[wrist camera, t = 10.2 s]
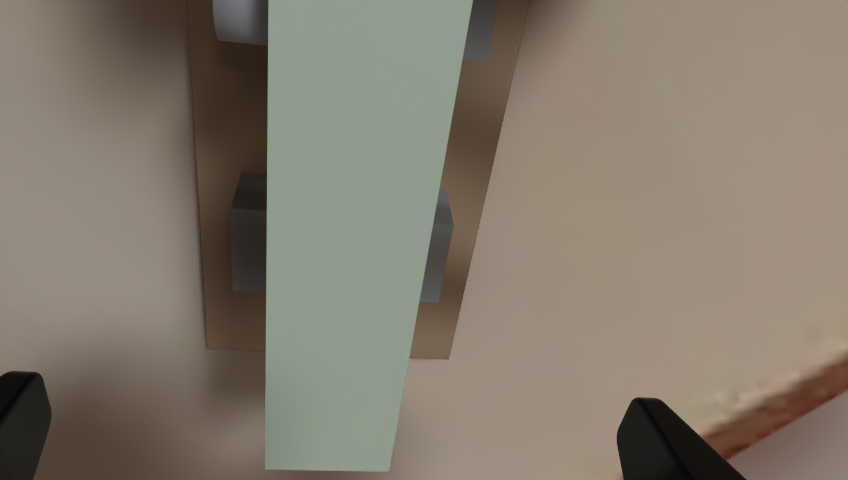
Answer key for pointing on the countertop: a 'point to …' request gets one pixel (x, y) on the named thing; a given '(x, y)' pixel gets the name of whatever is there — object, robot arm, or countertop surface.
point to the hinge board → (247, 175)
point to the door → (347, 210)
